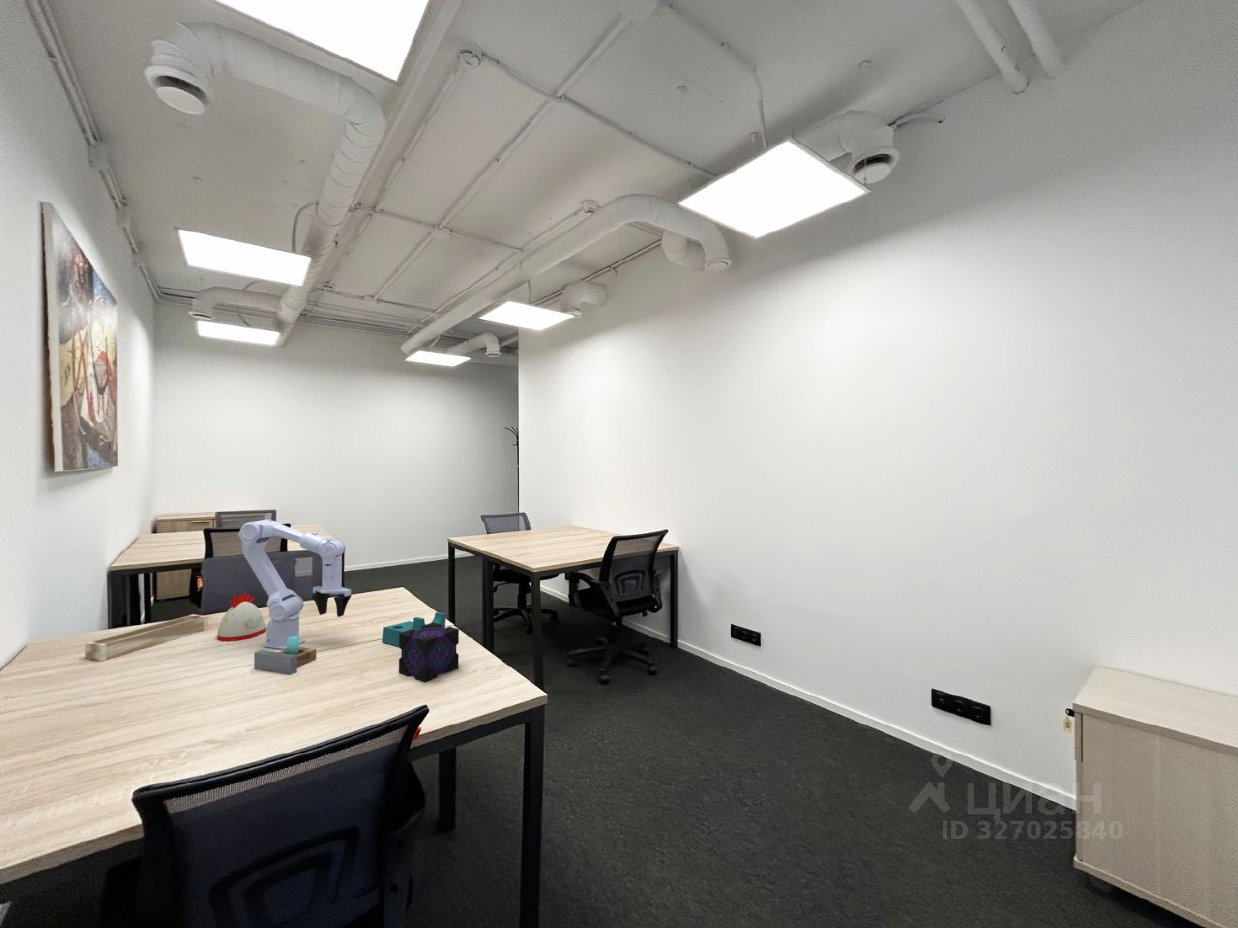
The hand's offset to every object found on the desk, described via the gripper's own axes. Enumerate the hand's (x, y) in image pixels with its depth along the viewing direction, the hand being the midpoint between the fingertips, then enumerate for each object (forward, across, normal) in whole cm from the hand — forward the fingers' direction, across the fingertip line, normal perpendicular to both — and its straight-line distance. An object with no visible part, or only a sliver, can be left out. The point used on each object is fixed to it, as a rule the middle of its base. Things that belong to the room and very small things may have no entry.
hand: (331, 614), depth 166 cm
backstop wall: (+10, +2, -22) cm, 24 cm away
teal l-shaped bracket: (+10, +26, +9) cm, 29 cm away
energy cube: (+10, +46, -9) cm, 48 cm away
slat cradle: (+10, -59, -17) cm, 62 cm away
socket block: (+10, +2, -16) cm, 19 cm away
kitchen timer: (+10, -38, -2) cm, 39 cm away
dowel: (+10, +2, -16) cm, 19 cm away
